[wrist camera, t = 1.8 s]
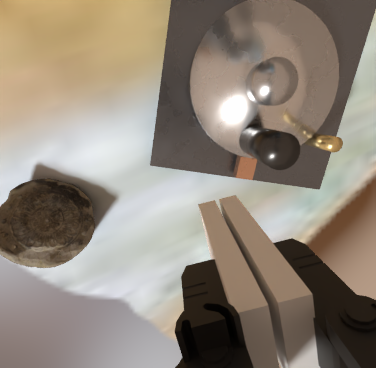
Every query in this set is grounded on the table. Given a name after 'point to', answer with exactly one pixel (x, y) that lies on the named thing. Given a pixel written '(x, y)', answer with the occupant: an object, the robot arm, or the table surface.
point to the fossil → (45, 223)
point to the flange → (264, 82)
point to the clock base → (187, 121)
